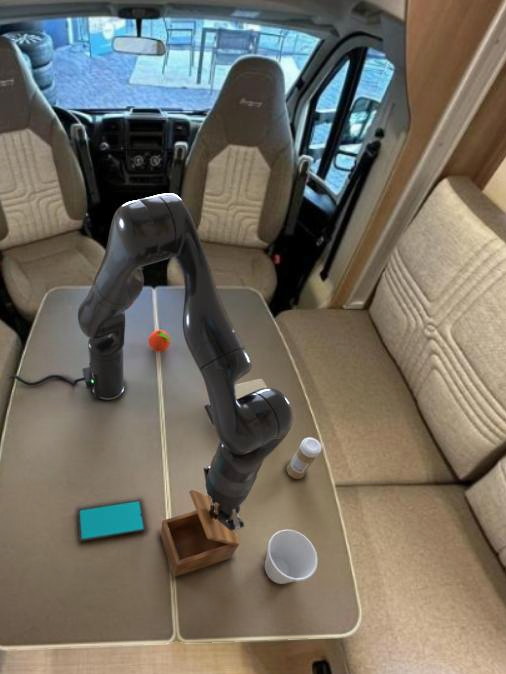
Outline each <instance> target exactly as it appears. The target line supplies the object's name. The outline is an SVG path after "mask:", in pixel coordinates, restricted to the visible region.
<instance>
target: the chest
mask: <svg viewBox="0 0 506 674" xmlns="http://www.w3.org/2000/svg"><path fill="white" fill-rule="evenodd" d="M159 534H160V539H161V540H162V544H163V548H164V550H165V554H166V557H167V561H168V563H169V567H170V569H171V573H172V575H173V578H176V577H178V576H182V575H184V574H185V575H186V574H189V573H191V572H194V571H196V570H199V569H203V568H205V567H208V566H211V565H214V564H215V565H216V564H218V563H221V562H225V561H227V560H229V559H231V558H232V557H233V555H234V553H235V552H236V550H237V548H239V545H238V546H237V545H232V544H228V543H223V542H219V541H214V540H210V539H208V538H207V536H206V533H205V531H204V528H203V526H202V523H201V521H200V518H199V515H198V513H197V510H196V509H195V510H193V511H189V512H186V513H182V514H180V515H176V516H173V517H169V518H166V519H164V520H162V521H161V528H160V533H159Z"/></svg>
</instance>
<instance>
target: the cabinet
mask: <svg viewBox="0 0 506 674" xmlns="http://www.w3.org/2000/svg"><path fill="white" fill-rule="evenodd" d="M262 388H268V386H267V385H266V383H265V382H264V380H263V378H258V379H253V380H248V381H244V382H241V383H236V384H235V392H236V398H237V399H239V398H241V397H243V396H245V395H247V394H249V393H252V392H254V391H256V390H258V389H262Z"/></svg>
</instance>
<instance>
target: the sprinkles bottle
mask: <svg viewBox="0 0 506 674" xmlns="http://www.w3.org/2000/svg"><path fill="white" fill-rule="evenodd" d="M322 450H323V449H322V444H321V442H320V441H319V440H318V439H316V438H315V437H305V438H304V439H303V440H302V441H301V443H300V445H299V448H298V449H297V451H296V452H295V454H294V455H293V457H292V458H291V460H290V462H289V464H288V465H287V467H286V471H287V472H286V473H287V474H288V475H289V476H290V477H291V478H293V479H296V480H299V479H302V478H304V476H305V474H306V472H307V471H308V470H309V469H310V467H311V466H312V464H313V462H314V461H315V459H316V458H317V457H318V456H319V455H320V454H321V452H322Z"/></svg>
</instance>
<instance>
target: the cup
mask: <svg viewBox="0 0 506 674" xmlns="http://www.w3.org/2000/svg"><path fill="white" fill-rule="evenodd" d="M318 561H319V560H318V554H317V550H316V549H315V546H314V545H313V544H312V542H311V540H309V538H307V537H306V536H305V535H304V534H302V533H301V532H299V531H297V530H294V529H282V530H279V531H277V532H275V533H274V534H273V535H272V536H271V537H270V538H269V541H268V545H267V554H266V558H265V561H264V570H265V573H266V575H267V577H268V578H269V579H270V580H271V581H272V582H274V583H276V584H278V585H285V584H289V583H293V582H303V581H306V580H308V579H310V578H311V577H313V575H314V574H315V573H316V571H317V569H318V563H319V562H318Z"/></svg>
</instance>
